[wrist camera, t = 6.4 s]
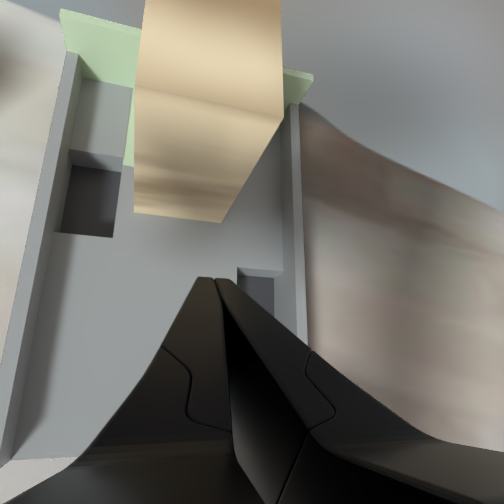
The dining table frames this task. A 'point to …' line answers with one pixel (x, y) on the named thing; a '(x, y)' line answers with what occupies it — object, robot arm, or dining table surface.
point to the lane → (128, 252)
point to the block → (204, 103)
